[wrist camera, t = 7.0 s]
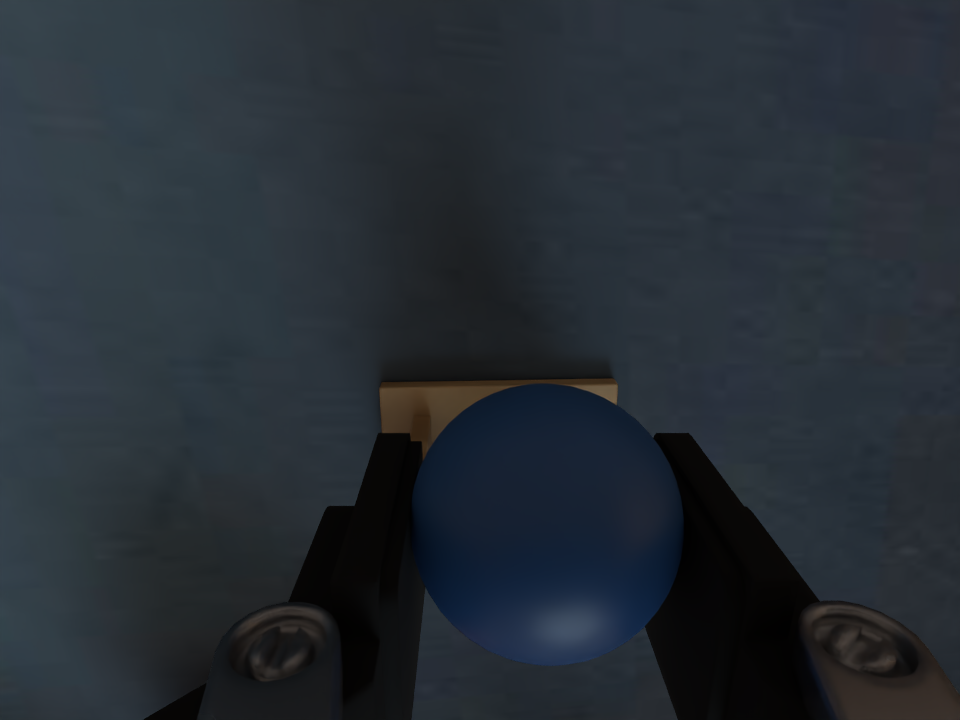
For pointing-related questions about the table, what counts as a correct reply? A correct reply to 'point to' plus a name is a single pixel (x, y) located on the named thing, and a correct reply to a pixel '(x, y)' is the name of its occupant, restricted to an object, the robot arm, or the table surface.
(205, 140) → the table surface
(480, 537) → the blue tipped lever
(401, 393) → the rack
